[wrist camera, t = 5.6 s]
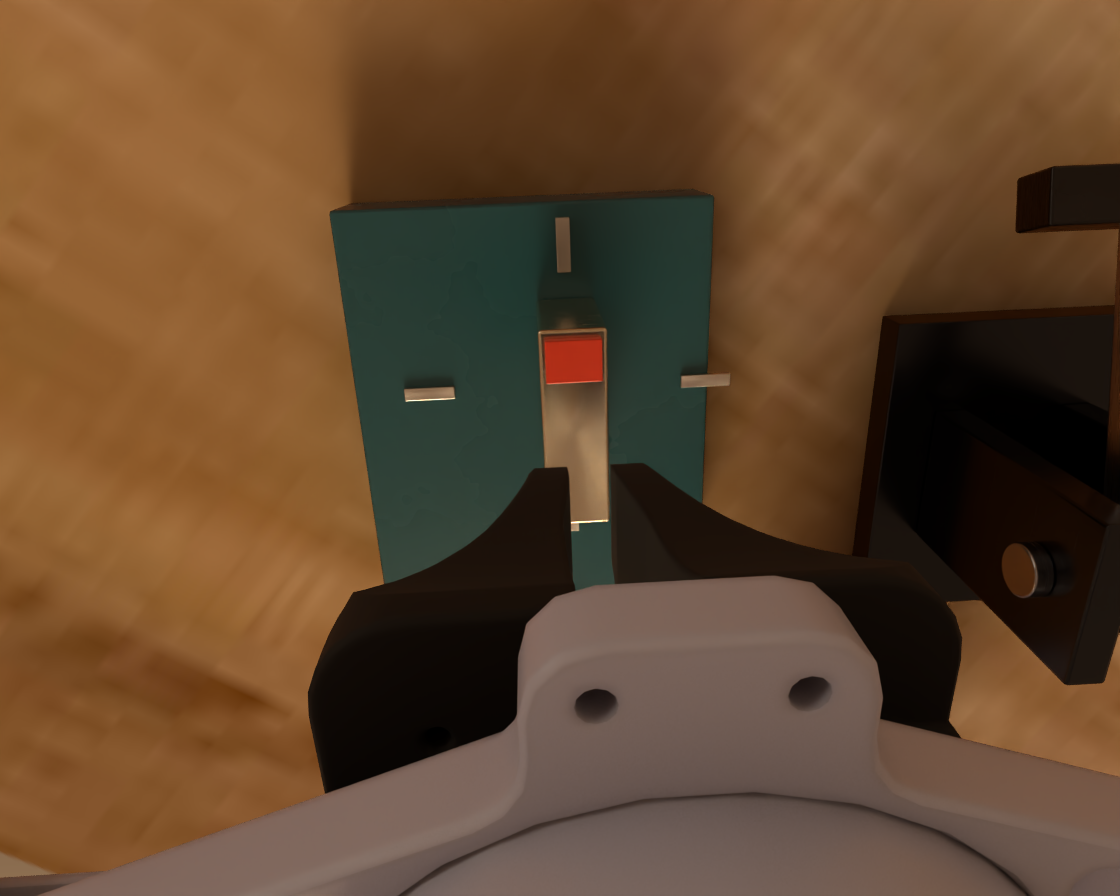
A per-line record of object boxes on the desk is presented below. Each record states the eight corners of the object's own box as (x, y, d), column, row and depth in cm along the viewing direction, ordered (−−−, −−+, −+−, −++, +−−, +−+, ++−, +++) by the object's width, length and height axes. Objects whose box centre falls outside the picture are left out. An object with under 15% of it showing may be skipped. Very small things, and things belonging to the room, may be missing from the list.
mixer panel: (701, 547, 26) (719, 590, 24) (398, 564, 26) (385, 608, 24) (715, 187, 22) (739, 194, 19) (349, 202, 22) (326, 211, 19)
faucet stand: (882, 315, 24) (1069, 408, 15) (1132, 304, 24) (1449, 390, 16) (847, 588, 27) (983, 778, 19) (1063, 576, 28) (1288, 759, 19)
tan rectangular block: (597, 465, 22) (611, 527, 19) (543, 468, 22) (547, 530, 19) (594, 296, 20) (608, 329, 17) (535, 299, 20) (537, 333, 17)
